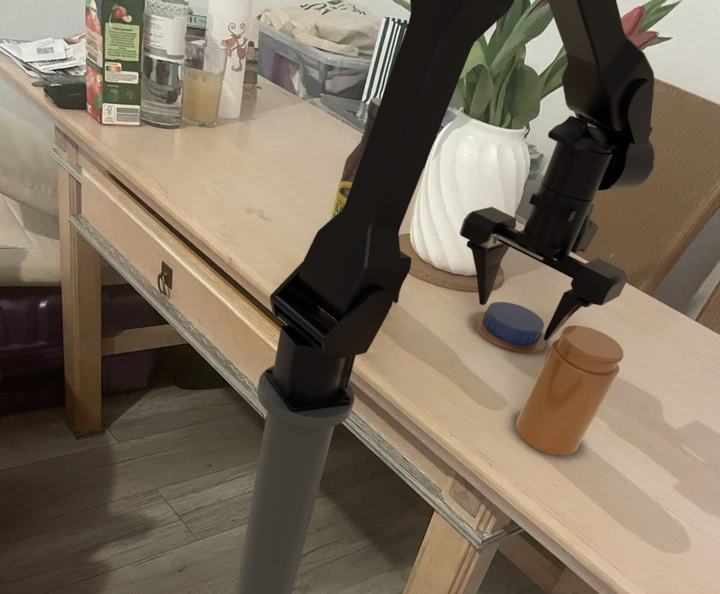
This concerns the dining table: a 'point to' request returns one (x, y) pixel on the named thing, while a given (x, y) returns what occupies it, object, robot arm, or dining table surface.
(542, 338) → the coaster
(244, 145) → the dining table surface
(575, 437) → the jar
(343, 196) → the sauce bottle
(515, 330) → the lid
